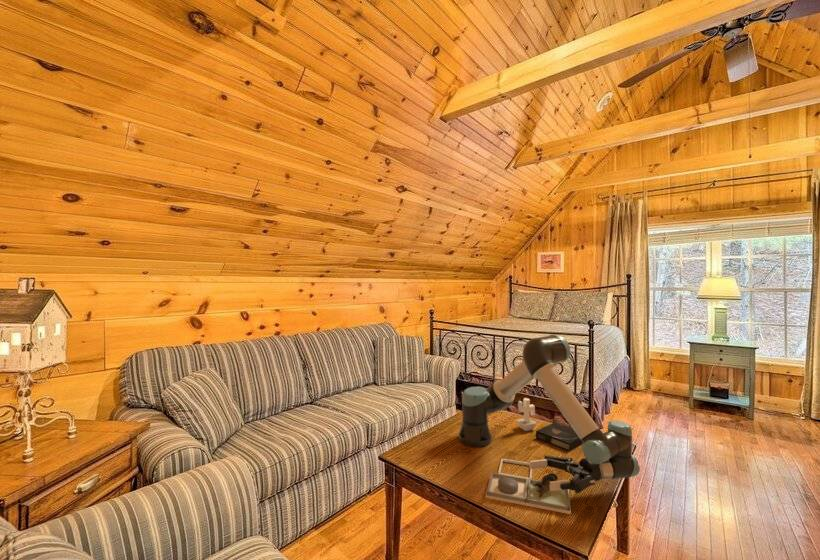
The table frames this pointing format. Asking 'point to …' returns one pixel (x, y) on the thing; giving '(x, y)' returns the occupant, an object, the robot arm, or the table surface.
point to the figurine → (526, 415)
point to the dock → (526, 493)
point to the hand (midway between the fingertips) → (539, 475)
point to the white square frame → (515, 463)
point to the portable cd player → (559, 436)
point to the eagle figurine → (545, 483)
